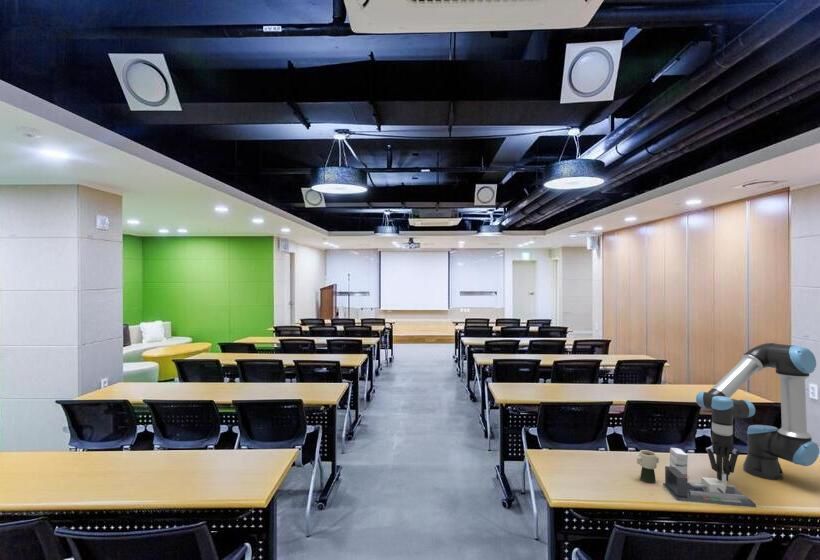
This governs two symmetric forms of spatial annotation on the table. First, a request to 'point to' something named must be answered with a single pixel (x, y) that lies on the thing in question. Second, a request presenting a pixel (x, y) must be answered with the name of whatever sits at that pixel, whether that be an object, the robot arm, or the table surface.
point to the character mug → (647, 465)
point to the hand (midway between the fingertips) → (722, 487)
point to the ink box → (678, 460)
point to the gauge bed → (701, 491)
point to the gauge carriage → (710, 485)
